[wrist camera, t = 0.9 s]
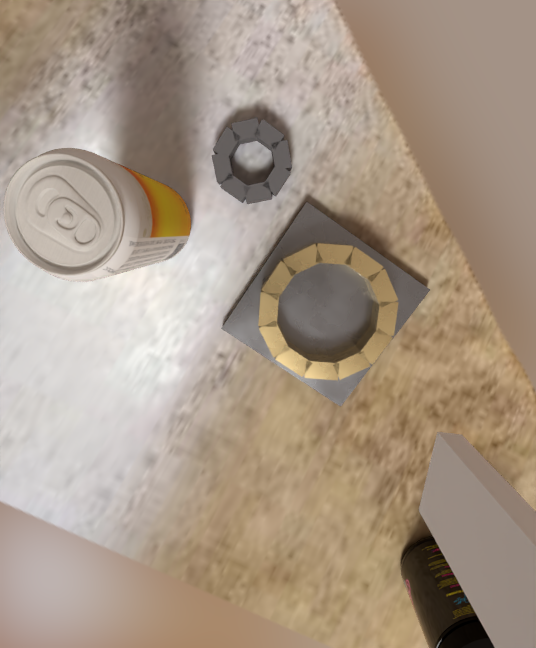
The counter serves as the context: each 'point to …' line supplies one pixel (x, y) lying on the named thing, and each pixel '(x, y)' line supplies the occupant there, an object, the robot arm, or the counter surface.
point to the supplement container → (440, 599)
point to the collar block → (324, 305)
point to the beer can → (92, 216)
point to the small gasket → (245, 134)
